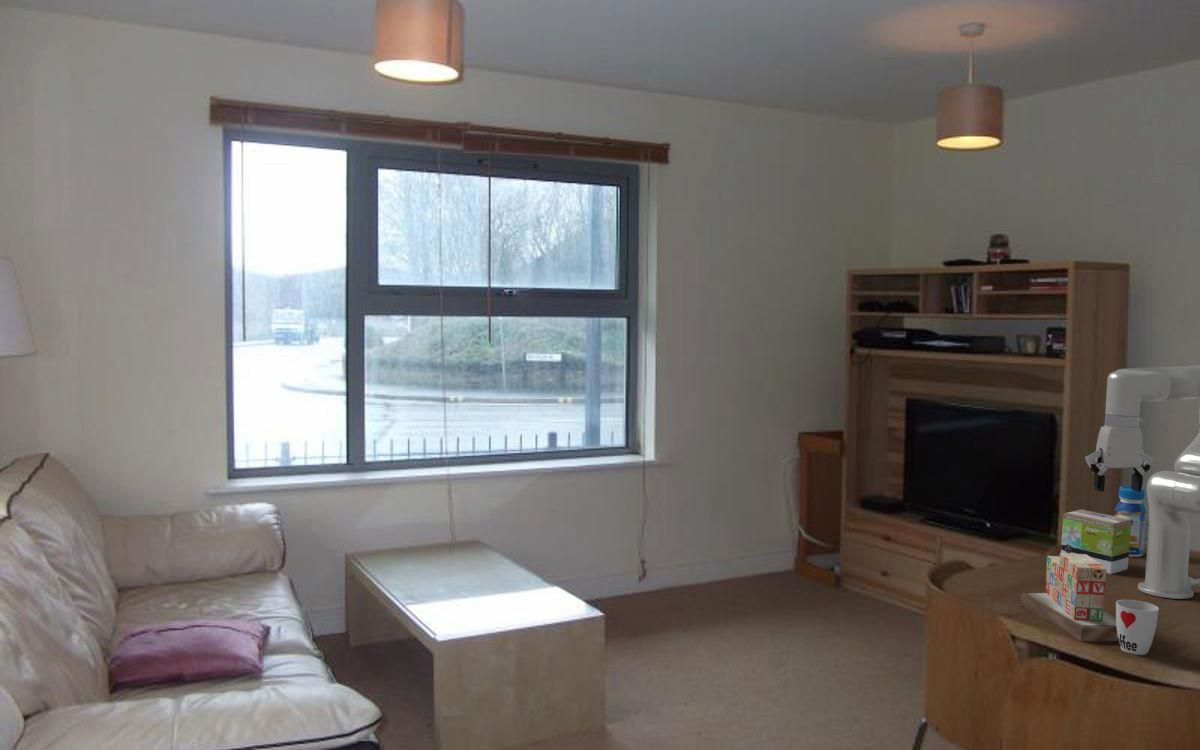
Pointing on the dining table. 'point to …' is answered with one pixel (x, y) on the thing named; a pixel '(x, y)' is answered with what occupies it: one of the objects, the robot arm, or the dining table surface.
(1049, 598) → the picture frame
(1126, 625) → the cup
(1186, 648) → the dining table surface
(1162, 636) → the dining table surface
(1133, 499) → the beverage bottle
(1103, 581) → the stack of blocks
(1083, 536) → the tea box
